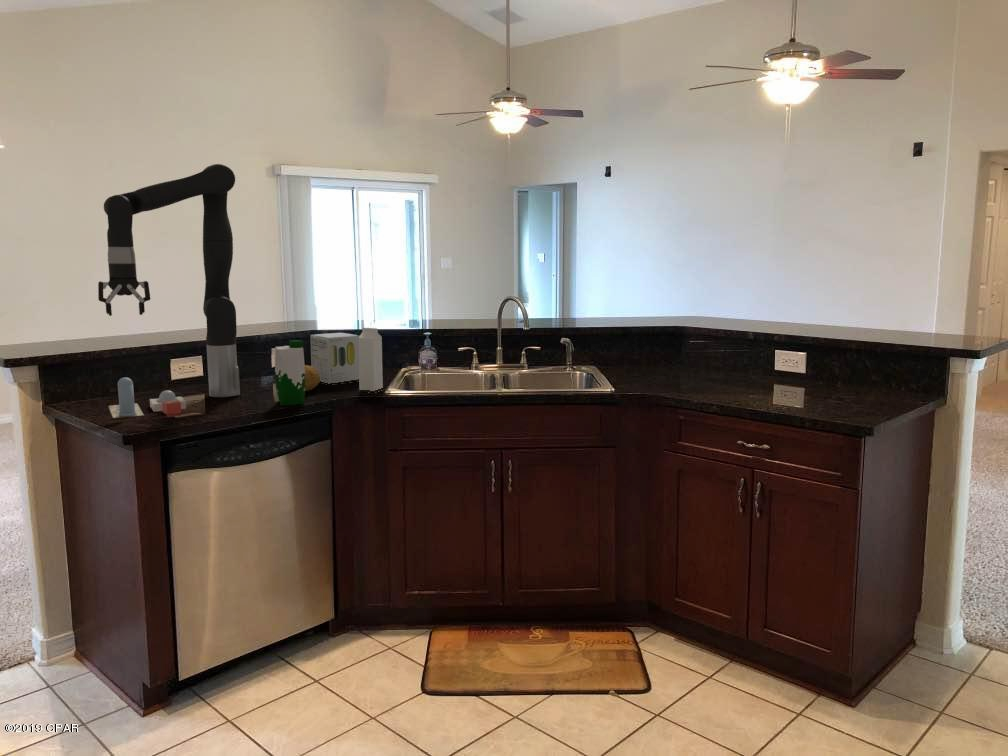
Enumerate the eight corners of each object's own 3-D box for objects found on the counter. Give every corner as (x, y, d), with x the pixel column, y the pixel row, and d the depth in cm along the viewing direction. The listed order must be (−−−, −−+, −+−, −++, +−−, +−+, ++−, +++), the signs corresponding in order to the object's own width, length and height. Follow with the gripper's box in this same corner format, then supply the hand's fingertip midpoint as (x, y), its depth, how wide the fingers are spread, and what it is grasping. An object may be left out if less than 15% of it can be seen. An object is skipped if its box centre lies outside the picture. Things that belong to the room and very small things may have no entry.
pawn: (135, 412, 224) (132, 375, 222) (137, 415, 220) (134, 378, 218) (118, 414, 221) (115, 376, 219) (119, 417, 217) (116, 379, 216)
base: (181, 406, 238) (181, 396, 237) (186, 411, 230) (185, 401, 229) (150, 408, 233) (149, 399, 233) (153, 414, 225) (153, 404, 225)
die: (176, 413, 227) (176, 399, 226) (181, 415, 224) (180, 401, 223) (162, 414, 224) (162, 401, 224) (167, 417, 222) (166, 403, 221)
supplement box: (328, 385, 276) (327, 337, 273) (311, 380, 286) (309, 334, 283) (360, 381, 285) (359, 335, 282) (342, 377, 295) (341, 332, 292)
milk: (374, 393, 262) (373, 329, 258) (359, 391, 264) (357, 328, 260) (383, 390, 267) (381, 327, 264) (367, 388, 269) (366, 326, 266)
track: (137, 405, 237) (137, 403, 237) (144, 417, 220) (144, 415, 220) (108, 408, 233) (108, 405, 233) (113, 420, 216) (113, 417, 216)
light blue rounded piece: (175, 406, 235) (174, 388, 234) (178, 408, 231) (177, 391, 230) (158, 407, 232) (156, 389, 231) (160, 410, 228) (159, 392, 227)
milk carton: (307, 404, 241) (304, 341, 238) (277, 406, 238) (274, 342, 235) (304, 399, 249) (301, 338, 246) (275, 401, 246) (272, 339, 243)
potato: (278, 392, 261) (277, 365, 259) (309, 387, 271) (308, 361, 270) (295, 396, 255) (294, 368, 254) (327, 390, 266) (326, 364, 264)
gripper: (96, 262, 226) (100, 316, 229) (148, 262, 233) (152, 315, 236) (95, 262, 232) (99, 315, 235) (146, 262, 240) (149, 313, 242)
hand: (125, 315), depth 235 cm, fingers open, 8 cm apart
